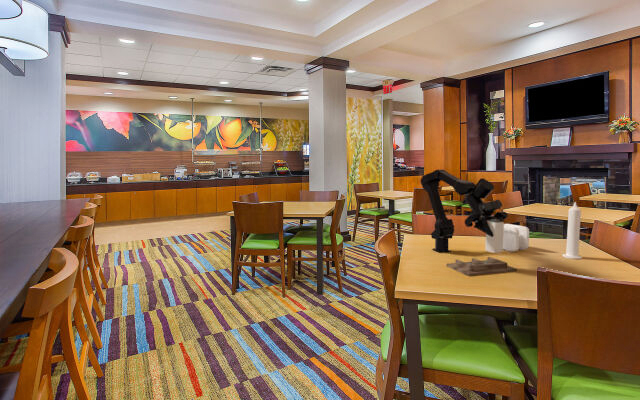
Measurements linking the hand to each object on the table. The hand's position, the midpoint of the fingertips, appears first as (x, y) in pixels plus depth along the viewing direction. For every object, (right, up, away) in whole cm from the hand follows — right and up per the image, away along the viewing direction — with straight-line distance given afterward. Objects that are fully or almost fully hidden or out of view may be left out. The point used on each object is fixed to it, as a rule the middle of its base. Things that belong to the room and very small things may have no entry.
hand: (497, 235), depth 146 cm
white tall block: (0, -6, +2) cm, 7 cm away
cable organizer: (+23, -10, +34) cm, 42 cm away
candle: (+42, -12, +18) cm, 47 cm away
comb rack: (-6, -13, +1) cm, 15 cm away
